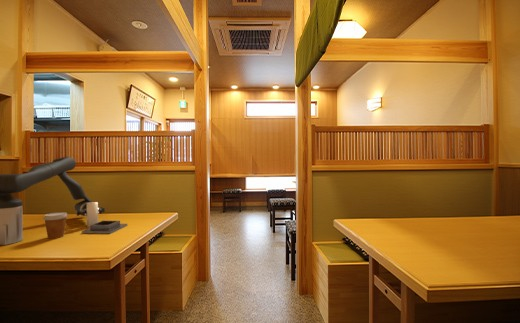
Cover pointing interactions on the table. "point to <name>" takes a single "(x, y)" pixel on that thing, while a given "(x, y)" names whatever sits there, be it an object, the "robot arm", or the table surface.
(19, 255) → the table surface
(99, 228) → the stand
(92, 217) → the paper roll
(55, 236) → the disposable coffee cup
